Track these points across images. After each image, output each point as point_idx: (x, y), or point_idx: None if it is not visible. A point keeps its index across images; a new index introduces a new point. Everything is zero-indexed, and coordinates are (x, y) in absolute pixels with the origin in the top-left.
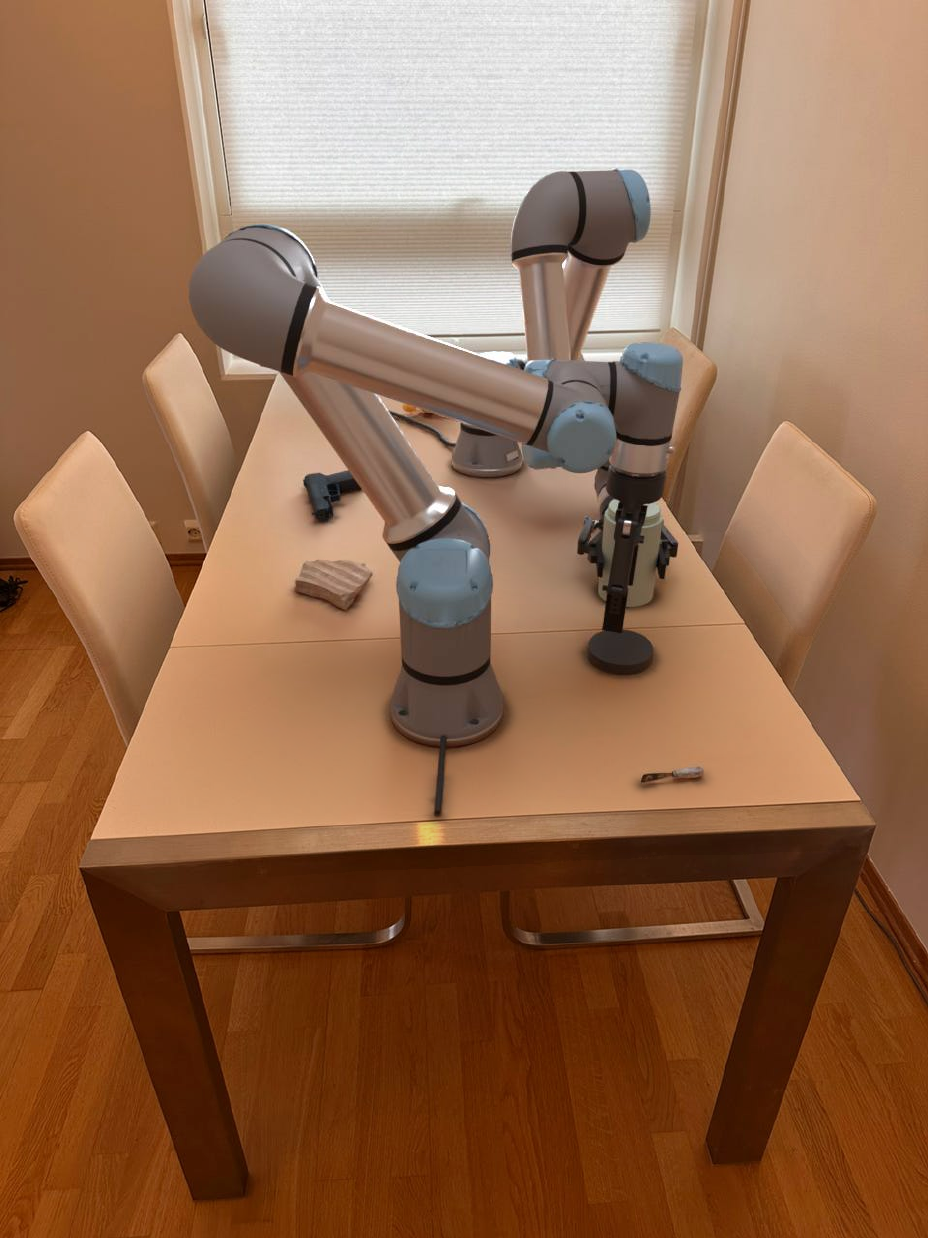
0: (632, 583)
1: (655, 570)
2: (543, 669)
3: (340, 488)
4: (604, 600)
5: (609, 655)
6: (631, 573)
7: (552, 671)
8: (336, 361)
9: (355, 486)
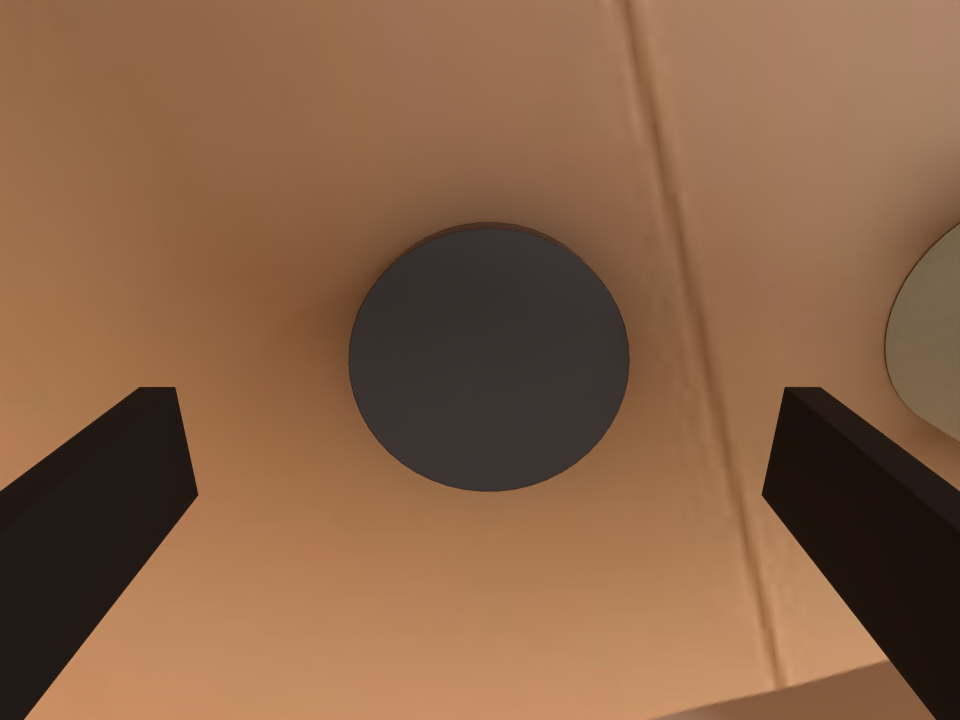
0: (770, 504)
1: None
2: (291, 37)
3: None
4: (945, 234)
5: (404, 333)
6: (813, 540)
7: (290, 86)
8: None
9: None
